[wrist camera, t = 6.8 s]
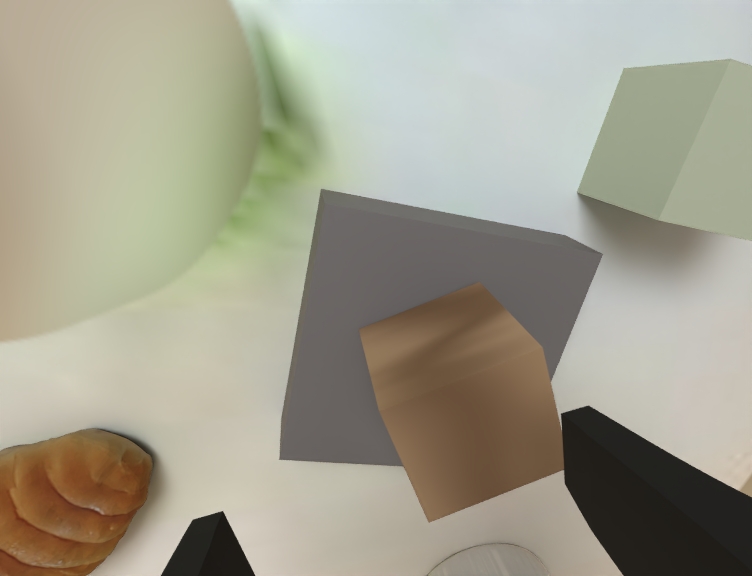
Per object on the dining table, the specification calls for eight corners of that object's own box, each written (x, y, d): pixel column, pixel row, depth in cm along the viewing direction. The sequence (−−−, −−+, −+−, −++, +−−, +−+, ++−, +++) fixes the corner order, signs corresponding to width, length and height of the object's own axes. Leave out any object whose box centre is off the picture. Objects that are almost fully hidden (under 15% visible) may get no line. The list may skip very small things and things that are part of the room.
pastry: (73, 378, 18) (19, 448, 14) (198, 474, 20) (179, 551, 17) (-97, 506, 19) (-186, 600, 15) (45, 581, 21) (-3, 675, 18)
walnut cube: (479, 281, 16) (542, 347, 12) (506, 380, 18) (570, 467, 14) (358, 329, 16) (379, 411, 12) (398, 423, 18) (428, 522, 14)
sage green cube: (721, 98, 17) (852, 99, 13) (669, 213, 19) (771, 245, 15) (622, 68, 16) (731, 59, 12) (575, 192, 18) (658, 220, 14)
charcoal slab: (558, 232, 19) (602, 254, 16) (487, 426, 22) (513, 472, 20) (320, 186, 17) (324, 203, 14) (281, 410, 20) (279, 459, 17)
